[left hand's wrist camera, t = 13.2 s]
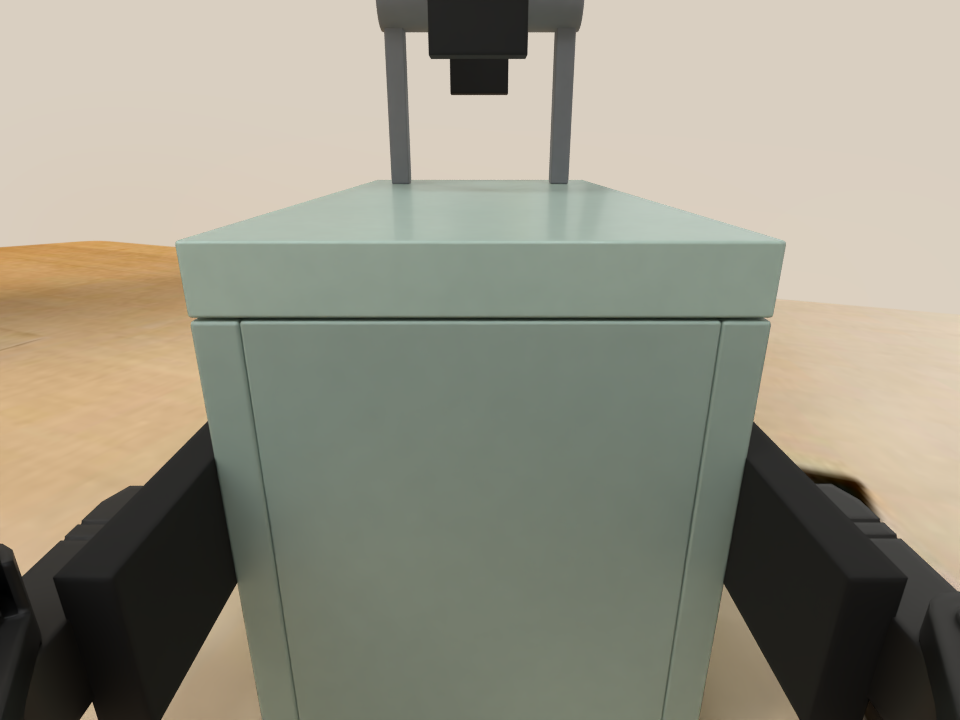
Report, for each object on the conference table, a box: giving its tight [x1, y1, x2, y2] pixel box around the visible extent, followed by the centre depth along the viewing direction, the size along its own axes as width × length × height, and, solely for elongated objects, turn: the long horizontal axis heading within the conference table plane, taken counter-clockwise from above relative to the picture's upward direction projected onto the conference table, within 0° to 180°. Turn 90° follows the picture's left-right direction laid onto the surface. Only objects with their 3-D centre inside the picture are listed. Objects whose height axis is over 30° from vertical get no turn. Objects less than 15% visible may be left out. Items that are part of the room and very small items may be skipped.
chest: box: [191, 318, 771, 720], centre depth 19 cm, size 17×9×10 cm, turn 0°
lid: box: [176, 0, 786, 318], centre depth 16 cm, size 18×9×8 cm, turn 0°
